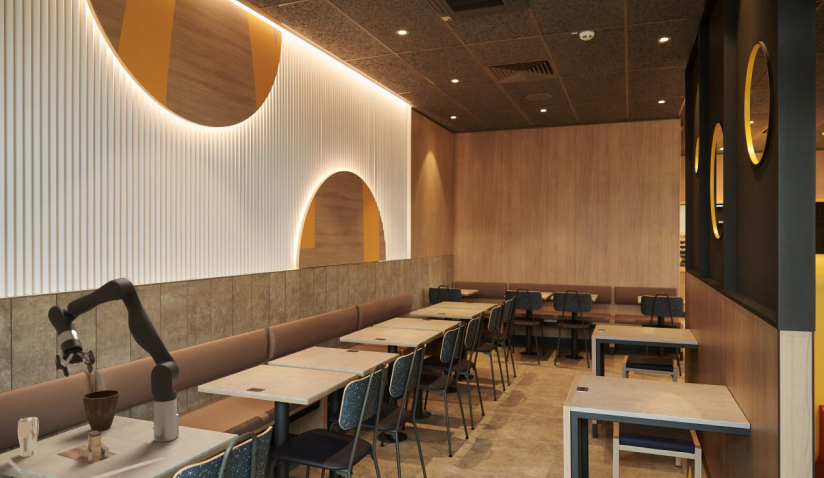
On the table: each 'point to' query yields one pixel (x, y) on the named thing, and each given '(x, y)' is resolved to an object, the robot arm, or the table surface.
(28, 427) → the beer glass
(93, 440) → the grey-topped wooden block
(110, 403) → the plant pot
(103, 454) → the clip
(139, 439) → the table surface
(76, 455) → the board
